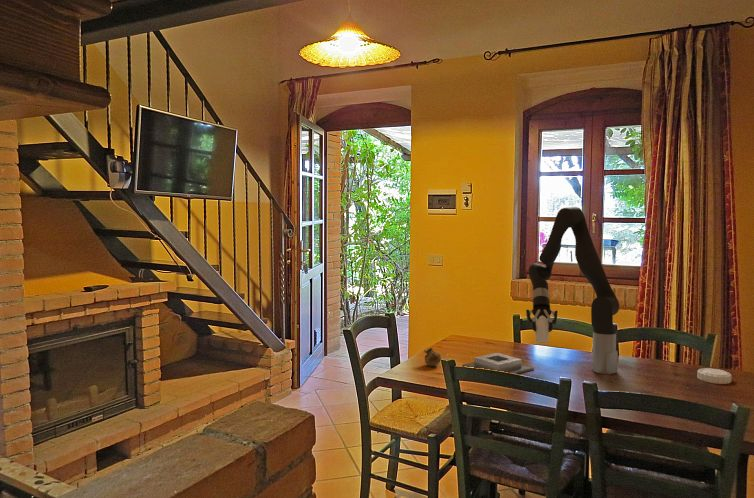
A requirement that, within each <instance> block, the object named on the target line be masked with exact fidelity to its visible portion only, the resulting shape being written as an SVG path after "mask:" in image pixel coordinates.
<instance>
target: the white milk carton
mask: <svg viewBox="0 0 754 498" xmlns="http://www.w3.org/2000/svg"><path fill="white" fill-rule="evenodd" d="M534 332H535V331H534ZM549 334H550V332H549V322H548V321H547V319H546V317H545V316H543V315H542V316H540V317H539V319H538V320H537V321H536V332H535V333H534V335H535V336H534V337H535V342H536V343H538V344H547V343H549V341H550V340H549V339H550V335H549Z"/></svg>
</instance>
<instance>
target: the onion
mask: <svg viewBox="0 0 754 498" xmlns="http://www.w3.org/2000/svg"><path fill="white" fill-rule="evenodd" d="M423 352H424V353H425V354H426V355H424V363H425V364H426V365H427V366H428V367H436V366H438V365H439V363H440V362H441V361H442V356H441V354H439V353H438V352H437V351H435V350H433V348H432V347H430V348H428V349H423Z"/></svg>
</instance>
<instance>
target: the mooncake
mask: <svg viewBox="0 0 754 498" xmlns="http://www.w3.org/2000/svg"><path fill="white" fill-rule="evenodd" d="M696 377H697V379H699V380H700V381H703V382H708V383H711V384H719V385H721V384H722V385H724V384H725V385H727V384H730V383H732V374H731V373H730V372H728V371H726V370H722V369H719V368H710V367H707V368H706V367H705V368H699V369H698V370H697V376H696Z"/></svg>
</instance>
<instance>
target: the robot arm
mask: <svg viewBox="0 0 754 498" xmlns="http://www.w3.org/2000/svg"><path fill="white" fill-rule="evenodd" d="M555 216H556V217H555V219H554V222H553V226H552V228H551V231H550V234H549V237H548V240H547V242H546V243H545V246H544V248H543V249H542V252H541V253H540V256H539V258H538V259H539V261H540V262H541V263H542V264H539V263H535V262H534V263H532V264H530V266H529V268H528V272H527V273H528V277H529V279H530V282H531V284H532V309H531V310H530V309H526V310H525V311H526V312H525V315H526V320H527V323H528V324H532V325H531V329H532V331H533V332H536V321H537V320H538V319H539V317H540V316H542V315H543V316H545V317H546V319H547V321H548V322H549V333H551V332H553V330H554V329H553V325H557V321H558V320H557V319H558V314H559V313H558V310H555V311H553V310H552V309H551V303H550V301H551V300H550V291H549V283H548V280H549V279H550V278H551V276H552V272H553V267H554V264H555V261H556V260H557V258H558V255H559V254H560V251H561V248H562V239H563V237H564V235H565V233H566V232H567V230H568V229H569V228H571V231H572V233H573V235H574V240H575V248H574V255H575V256H574V257H575V260H576V262H577V265H578V267H579V270H580V273H582V274H583V276H584V277H585V279H586V280H587V281H588V283H590V285H591V286H592V288H593V291H594V293H595V296H596V297H595V298H594V299H593V300H592V302H591V307H590V312H591V313H590V316H591V318H590V319H591V320H590V321H591V326H592V355H591V356H592V358H591V359H592V361H591V362H592V363H591V367H592V370H591V371H593V372H594V373H597V374H601V375H609V376H610V375H613V374H615V373H618V357H619V356H618V355H619V354H618V353H619V352H618V350H616V345H617V327H616V326H615V325H614V321H613V319H614V318H613V317H614V315H616V314H617V313H618V312H619V311H620V302H619V300H618V298H617V295H616V293H615V292H614V290H613V288H612V286H611V284H610V282H609V280H608V277H607V275H606V271H605V270H604V267H603V264H602V262H601V259H600V256H599V254H598V252H597V248H596V247H595V245H594V241H593V239H592V237H591V233H590V231H589V227H588V224H587V220H586V216H585V215H584V212H583V211H582V209H581V208H580V207H577V206H568V207H563V208H561V209H560V210H558V212H557V214H556V215H555ZM543 264H544V265H543ZM532 315H533V319H532V318H531V316H532ZM551 315H552V317H553V319H552V318H551Z"/></svg>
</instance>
